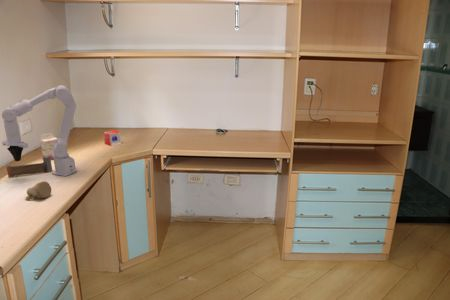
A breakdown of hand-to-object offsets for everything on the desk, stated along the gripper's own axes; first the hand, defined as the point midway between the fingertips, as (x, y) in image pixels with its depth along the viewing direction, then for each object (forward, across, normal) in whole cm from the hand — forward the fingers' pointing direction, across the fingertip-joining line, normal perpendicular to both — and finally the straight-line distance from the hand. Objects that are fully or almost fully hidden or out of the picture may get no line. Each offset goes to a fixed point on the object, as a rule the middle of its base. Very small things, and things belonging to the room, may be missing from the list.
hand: (18, 160), depth 175 cm
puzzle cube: (+10, +2, +68) cm, 69 cm away
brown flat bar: (+9, -2, +5) cm, 11 cm away
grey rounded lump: (+10, +26, -14) cm, 31 cm away
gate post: (+9, +4, +13) cm, 17 cm away
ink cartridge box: (+10, -11, +30) cm, 33 cm away
